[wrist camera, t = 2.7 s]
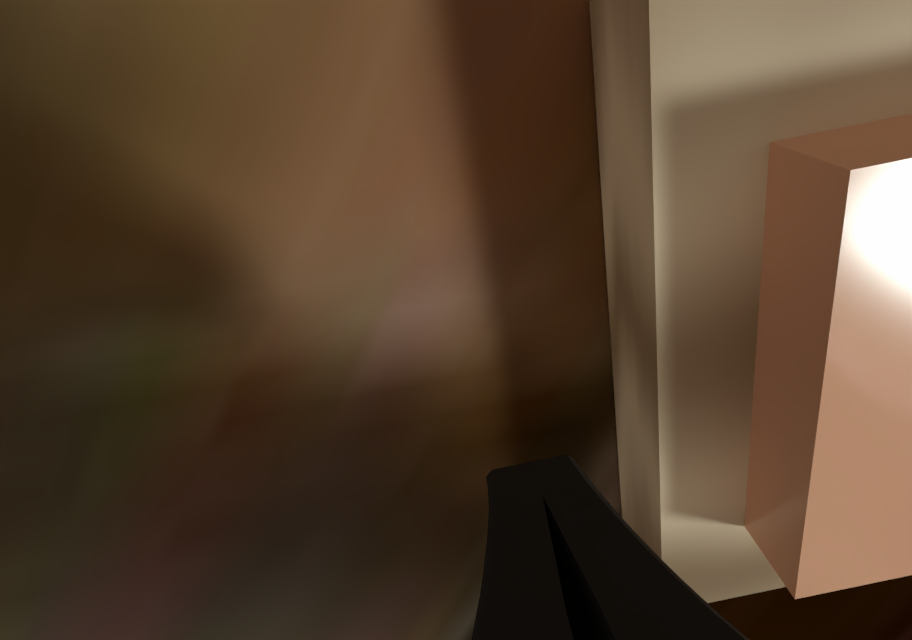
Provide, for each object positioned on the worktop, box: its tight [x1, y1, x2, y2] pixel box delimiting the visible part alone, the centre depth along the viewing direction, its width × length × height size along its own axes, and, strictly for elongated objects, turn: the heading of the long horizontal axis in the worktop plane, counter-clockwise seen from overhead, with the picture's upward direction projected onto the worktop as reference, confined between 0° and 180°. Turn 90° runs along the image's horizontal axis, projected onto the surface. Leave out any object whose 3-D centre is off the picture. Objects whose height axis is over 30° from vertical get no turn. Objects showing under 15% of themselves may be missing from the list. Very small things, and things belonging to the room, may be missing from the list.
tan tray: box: [589, 0, 912, 603], centre depth 14 cm, size 14×12×3 cm
